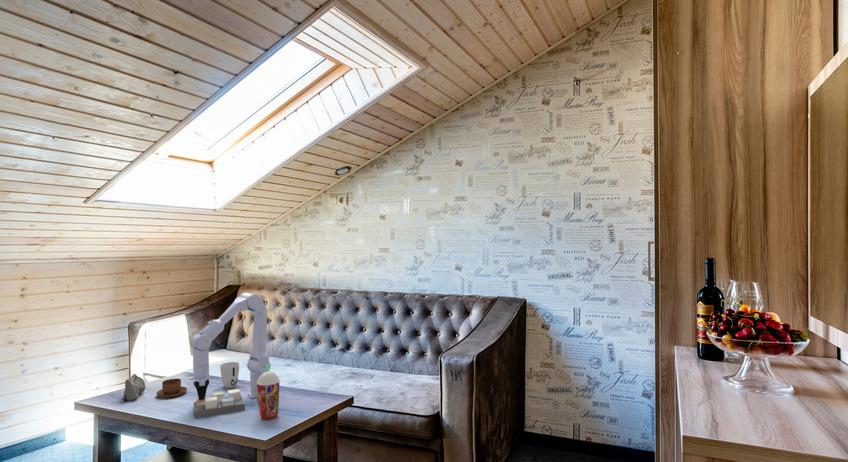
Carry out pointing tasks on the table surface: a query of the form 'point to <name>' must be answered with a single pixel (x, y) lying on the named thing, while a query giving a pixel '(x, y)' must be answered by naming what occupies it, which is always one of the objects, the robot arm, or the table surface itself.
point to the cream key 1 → (210, 403)
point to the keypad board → (218, 408)
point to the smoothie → (268, 395)
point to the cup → (229, 374)
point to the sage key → (218, 396)
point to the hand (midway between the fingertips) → (201, 399)
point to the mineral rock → (133, 387)
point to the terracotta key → (200, 402)
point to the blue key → (227, 402)
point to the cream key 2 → (234, 394)
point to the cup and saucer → (171, 388)
